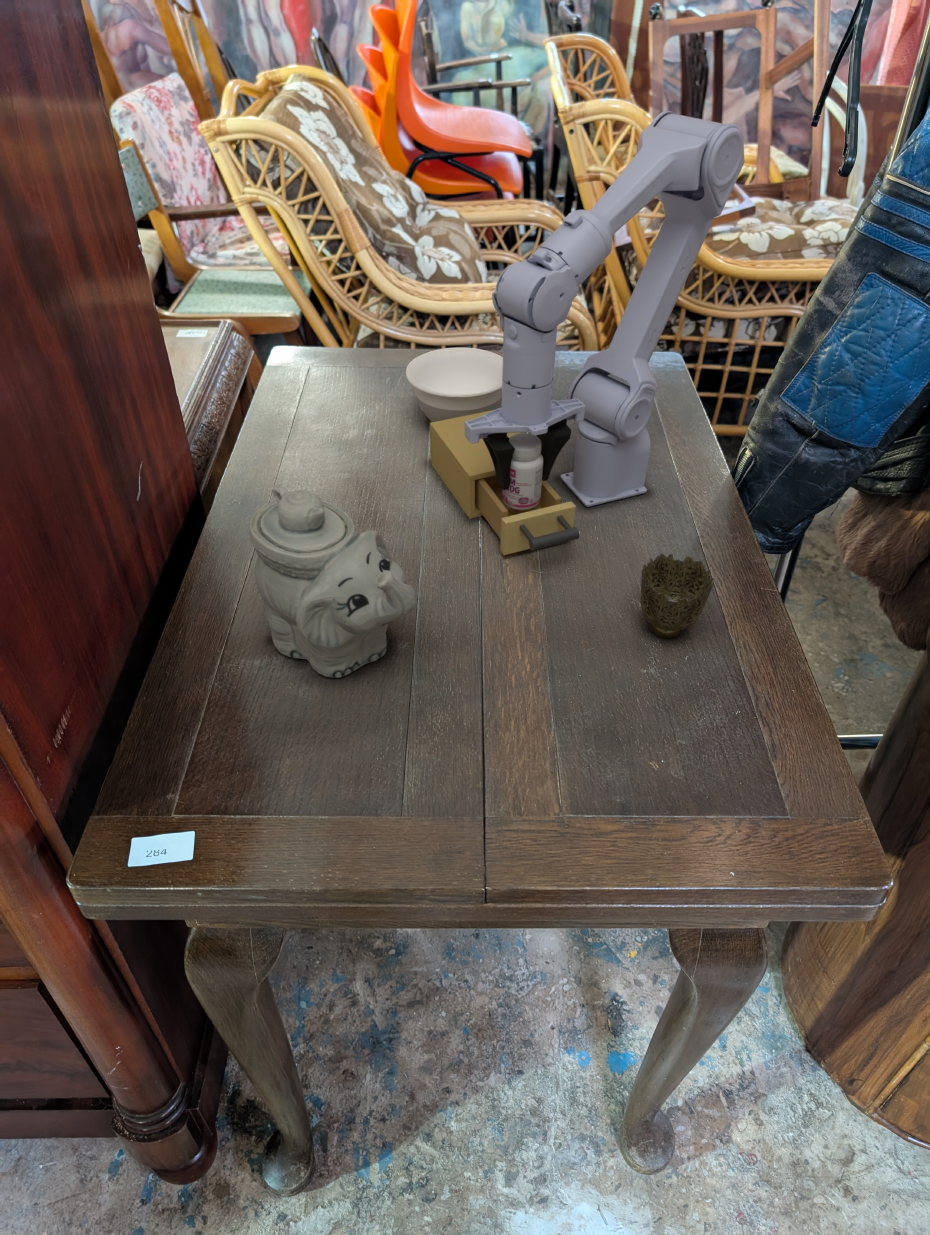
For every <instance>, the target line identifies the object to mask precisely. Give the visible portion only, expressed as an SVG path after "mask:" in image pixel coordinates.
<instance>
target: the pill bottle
mask: <svg viewBox="0 0 930 1235" xmlns="http://www.w3.org/2000/svg"><path fill="white" fill-rule="evenodd" d="M509 442H510V443H511V444H512V445H513V447H514V448H515V451H514V453H513V457H512V461H511V467H510V486H509V489H507V490H503V501H504V503H505V504H506V505H507V506H508V507H510V508H513V509H516V510H529V509H532V508H534V507H535V506H537V505H538V504H539V502H540V498H541V486H542V473H543V456H542V454H541V440H540V439H539V438H538V437H537V436H536V435H531V434H530V433H528V432H522V433H520V434H516V435H513V436H511V437H510V438H509Z"/></svg>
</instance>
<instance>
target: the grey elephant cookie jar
mask: <svg viewBox="0 0 930 1235" xmlns="http://www.w3.org/2000/svg"><path fill="white" fill-rule="evenodd" d="M272 495H273V497H274V499H275V500H273V501H270V502H267V503H265V504H263V505H262V506H260V507H259V508H258V509H257V510H256V511H255V513H253V514H252V516H251V518H250V520H249V528H248V529H249V530H248V532H249V533H248V534H249V540H250V542H251V543H252V547H253V548H254V550H255V552H256V554H257V558H256V561H255V564H254V570H253V572H254V583H255V586H256V589H257V591H258V593H259V595H260V599H261V600H260V602H261V607H262V610H263V612H264V616H265V618H266V620H267V623H268V626H269V628H270V634H271V638H272V643H273V645H274V647H275V648H276V650H277V651H278V652H279V653H280V654H281V655H284V656H285V657H288V658H289V657H290V658H293V659H303V660H307V661H308V662H309V664H310V666H311V668H312V669H313V670H314V671H315V672H316V673H318V674H320V675H321V676H324V677H328V678H335V679H337V678H338V679H340V678H342V677H346V676H348V675H350V674H351V673H353V672H354V671H356V670H357V669H360V668H361V667H362V666H364V665H366V664H369V663H372V662H375V661H377V660H379V659H380V658H382V657H384V656H385V654H386V652H387V649H388V639H387V631H388V626H389V624H391V623H393V622H395V621H398V620H401V619H402V618H404V617H406V616H407V615H409V614H411V613H413V611H414V609H415V608H416V606H417V593H416V591H415V589H414V587H413V586H412V585H410V584H408V579H407V576H406V573H405V572H404V570H403V568H402V567H401V566H400V565H399V564H398V563H396V562H395V561H392V560H391V557H390V556H391V555H390V553H389V551H388V548H387V546H386V543H385V541H384V539H383V537H382V536H381V534H380V533H379V532H378V531H376V530H365V531H363V532H361V533H358V532H357V528H356V525H355V523H354V521H353V519H352V518H351V517H350V516H349V515H348V514H347V512H346V511H344V510H343V509H341V508H340V507H339V506H336V505H334V504H333V503H330V502H329V501H326V500H322V499H321V497H319V496H318V495H317V494H316V493H315V492H313V491H309V490H306V489H298V490H293V491H288V489H286V487H284V486H283V485H281V484H276V485H274V486H273V487H272Z"/></svg>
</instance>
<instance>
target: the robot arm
mask: <svg viewBox="0 0 930 1235" xmlns="http://www.w3.org/2000/svg"><path fill="white" fill-rule="evenodd" d="M744 165H745V145H744V134H743V132H742V129H741V128H740V126H739V125H738V124H735V123H731V122H730V123H721V122H717V121H712V120H707V119H703V118H697V117H692V116H688V115H682V114H678V113H676V112H674V111H672V110H665V111H662V112H660V113H659V114H657V115H656V116H655V117H654V118H653V119H652V121H651V122H650V124H649V125H648V126H647V127H646V128H644V129H643V130H642V131H641V133H640V135H639V139H638V143H637V149H636V154H635V156H633V158H632V159H631V160H630V161H629V163H628V164H627V165H626V166H625V168H624V169H622V171H621V173H620V174H619V175H618V176H617V177H616V179H615V180H614V181H613V182H612V183H611V185H610V186H609V187H608V188H607V190H605V192H604V193H603V195H602V196H601V197H600V198H599V199H598V200H597V202H596V203H595V204H594V205H593V206H592V208H590V210H587V209H576V210H574V211H573V212H569V213H568V214H567V215H566V216H565V217H564V218H563V219H562V223H561V224H560V225H559V226H558V227H557V228H556V229H555V230H554V231H553V232H552V233H551V234H550V235H549V236H548V238H546V240H545V241H544V242H543V243H541V245H539V247H538V248H537V249H536V250H535V251H534V252H533V253H532V254H531V255H530V256H528V257H527V259H526V260H524V259H521V260H519V261H518V260H517V261H514V262H512V263H511V264H509V265H507V266H506V267H505V268H504V269H503V270H502V272H501V273H500V275H499V277H498V279H497V282H496V284H495V290H494V291H493V292H492V293H491V300H492V305H493V308H494V309H495V311H496V312H497V313H498V316H499V329H501V331H502V333H503V336H502V337H503V340H502V357H503V368H502V402H501V404H500V406H501V407H500V406H499V407H498V409H496V410H494V411H491V412H489V413H487V414H485V415H483V416H480V417H478V418H476V419H472V420H469V421H465V437H466V438H467V440H468V441H469V442H470V443H471V444H474V443H478V442H479V439H483V441H484V443H485V445H486V447H487V449H488V451H489V453H490V456H491V459H492V461H493V465H494V468H495V472H496V478H497V483H498V484H499V485H500V487H501V488H502V489H503V490H507V489H509V486H510V467H511V461H512V457H513V453H514V451H515V448H514V447H513V445H512V444H511V443H510V442H509V437H508V436H507V433H528V434H531V435H535V436H537V437H538V438H539V439H540V440H541V454H542V456H543V473H542V480H543V481H548V480H549V478H550V475H551V472H552V469H553V466H554V465H555V462H556V461H557V459H558V456H559V454H560V452H561V451H562V449H563V448H564V446H566V444H567V443H568V441H570V439H571V438H572V437H571V436H572V428H570V427H569V426H568V421H573V424H574V425H576V426H577V432H576V442H575V450H574V451H575V452H574V462H573V471H570V472H566V473H562V474H560V476H559V478H560V480H561V481H562V482H563V483H564V484H565V485H566V487H567V488H568V489H569V491H571V492H572V493H573V494H574V496H576V498H577V499H578V500H579V501H580V502H581V503H582V505H584V506H585V507H587V508H590V507H594V506H599V505H601V504H606V503H610V502H614V501H617V500H622V499H626V498H630V497H631V498H632V497H634V496H639V495H643V494H646V493H647V492H648V488H647V487H646V486H645V484H646V478H647V474H648V472H647V471H648V467H649V466H648V465H649V460H650V455H651V446H652V445H651V438H650V437H651V436H650V434H649V431H648V429H647V427H646V426H647V425H648V423H649V421H650V419H651V415H652V411H653V404H654V400H655V397H656V396H657V395H656V394H657V392H658V390H659V384H658V382H657V380H656V378H655V376H654V374H653V371H652V370H651V367H650V365H649V362H650V360H651V358H652V356H653V353H654V352H655V349H656V348H657V345H658V343H659V340H660V338H661V336H662V334H663V332H664V331H665V328H666V326H667V324H668V321H669V319H670V317H671V314H672V312H673V311H674V308H675V306H676V304H677V302H678V299H679V297H680V295H681V293H682V290H683V288H684V286H685V284H686V281H687V279H688V277H689V275H690V273H691V271H692V268H693V267H694V264H695V262H696V259H697V258H698V255H699V253H700V251H701V249H702V246H703V244H704V242H705V240H706V238H707V236H708V233H709V231H710V229H711V228H712V224H713V222H714V220H715V219H716V218H717V217H720V216H721V215H722V213H723V211H724V208H725V207H726V204H727V202H728V200H729V197H730V196H731V194H732V192H733V189H734V187H735V184H736V183H737V180H738V178H739V176H740V174H741V171H742V169H743V167H744ZM655 198H656V199H657V200H658V201H659V202H660V203H661V205H662V206H663V211H664V219H663V222H662V224H661V226H660V229H659V231H658V233H657V235H656V238H655V240H654V242H653V245H652V247H651V249H650V251H649V254H648V256H647V259H646V261H645V263H644V266H643V268H642V270H641V272H640V275H639V277H638V280H637V281H636V284H635V286H634V289H633V291H632V293H631V296H630V298H629V300H628V303H627V305H626V307H625V310H624V312H623V314H622V316H621V318H620V321H619V323H618V326H617V327H616V330H615V332H614V335H613V337H612V339H611V342H610V343H609V346H608V347H607V348H606V349H603V350H601V351H599V352H596V353H594V354H592V355H589V356H588V357H587V358H586V361H585V363H584V365H583V367H582V368H581V370H580V372H579V373H578V374H577V376H576V377H574V379H573V380H572V381H571V384H570V386H569V388H568V391H567V397H566V399H557V400H556V399H553V390H554V388H553V387H554V374H555V361H556V350H557V334H558V326H559V325H561V324H562V323H564V321H565V320H566V318H567V317H568V314H569V313H570V310H571V308H572V305H573V301H574V300H575V298H576V297H577V296H578V292H580V291H579V287H581V285H582V284H583V283H584V282H585V281H586V280H587V278H589V277H590V276H591V275H592V273H594V271H595V270H596V269H598V267H599V266H600V265H601V264H602V263H603V262H604V261H605V260H606V259H607V258H608V257H609V256H610V255H611V252H612V249H613V235H615V234H616V233H617V232H618V231H619V230H621V228H623V227H624V225H626V224H627V223H628V222H630V220H632V219H633V217H635V216H636V215H637V214H638V213H640V211H641V210H643V209H644V208H645V207H646V206H648V204H649V203H650V202H652V201H653V200H654V199H655ZM610 375H612V376H615V377H616V378H619V379H622V380H623V381H625V382H626V383H627V384H626V383H624V382H621V381H620V380H617V379H616V378H613V377H611V376H610Z"/></svg>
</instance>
